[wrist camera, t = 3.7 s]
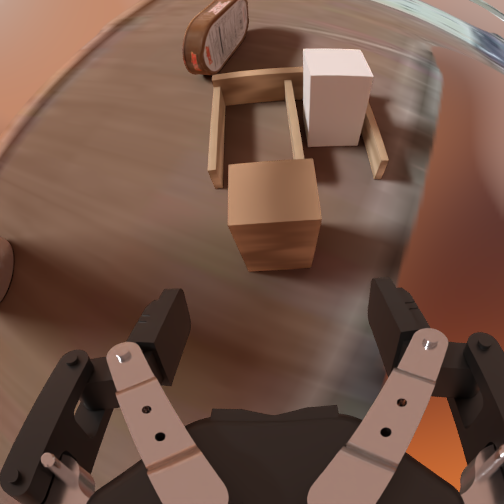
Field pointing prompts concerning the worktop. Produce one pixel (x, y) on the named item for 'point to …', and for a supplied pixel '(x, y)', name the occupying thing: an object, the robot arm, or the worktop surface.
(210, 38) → the tin
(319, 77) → the white block
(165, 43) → the worktop surface
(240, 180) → the tan block
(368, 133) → the rack
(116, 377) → the robot arm
